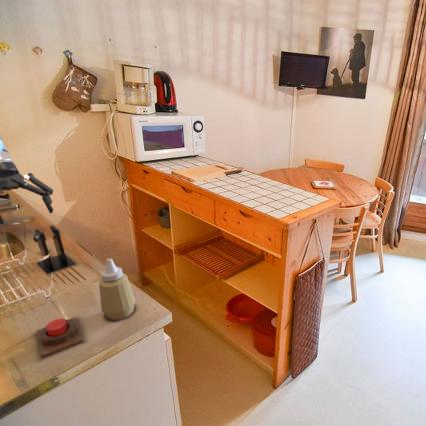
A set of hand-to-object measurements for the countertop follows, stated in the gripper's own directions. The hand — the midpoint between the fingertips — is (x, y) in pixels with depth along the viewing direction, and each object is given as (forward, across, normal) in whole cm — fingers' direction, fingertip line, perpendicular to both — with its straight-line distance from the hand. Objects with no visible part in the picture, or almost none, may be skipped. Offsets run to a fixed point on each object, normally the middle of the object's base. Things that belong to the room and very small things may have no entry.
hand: (28, 216), depth 111 cm
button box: (+48, +12, +30) cm, 58 cm away
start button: (+46, +12, +33) cm, 58 cm away
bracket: (+22, 0, +4) cm, 22 cm away
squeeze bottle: (+50, -1, +31) cm, 59 cm away
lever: (+13, 0, +6) cm, 14 cm away
